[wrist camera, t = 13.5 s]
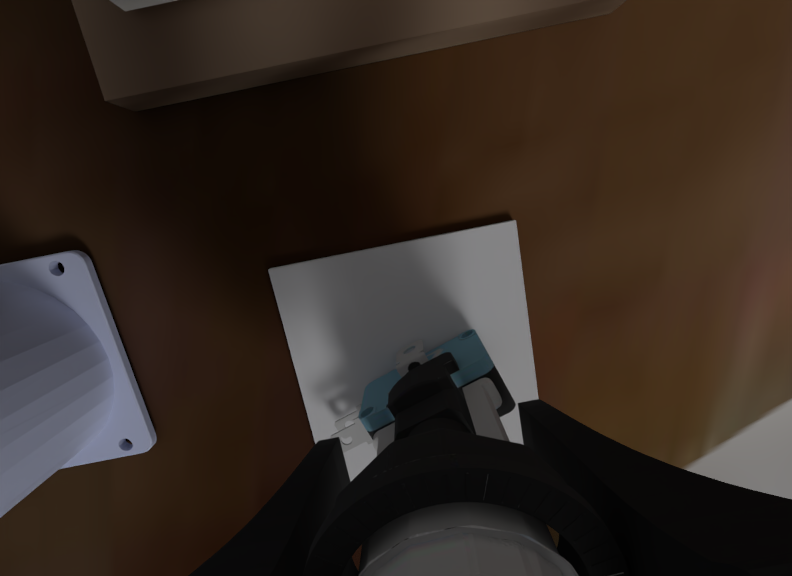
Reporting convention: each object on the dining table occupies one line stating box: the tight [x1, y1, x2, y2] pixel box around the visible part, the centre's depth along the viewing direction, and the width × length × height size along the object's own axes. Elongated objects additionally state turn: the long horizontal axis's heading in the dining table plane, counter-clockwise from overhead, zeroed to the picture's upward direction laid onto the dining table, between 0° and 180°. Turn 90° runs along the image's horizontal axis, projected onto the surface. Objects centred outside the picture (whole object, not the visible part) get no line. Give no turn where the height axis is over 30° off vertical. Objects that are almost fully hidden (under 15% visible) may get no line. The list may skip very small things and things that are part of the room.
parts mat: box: [268, 220, 538, 482], centre depth 16 cm, size 9×11×1 cm
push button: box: [303, 329, 630, 576], centre depth 10 cm, size 7×5×10 cm
